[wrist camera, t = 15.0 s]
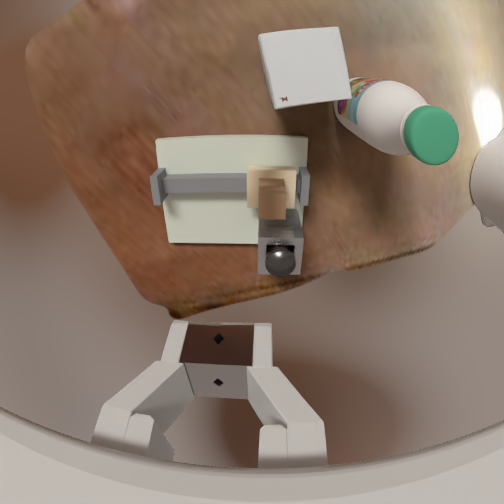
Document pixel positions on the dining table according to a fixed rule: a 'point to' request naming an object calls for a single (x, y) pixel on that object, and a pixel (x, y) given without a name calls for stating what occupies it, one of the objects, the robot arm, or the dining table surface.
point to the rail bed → (222, 204)
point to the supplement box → (304, 66)
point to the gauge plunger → (280, 260)
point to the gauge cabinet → (280, 238)
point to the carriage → (271, 190)
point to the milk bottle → (398, 120)
